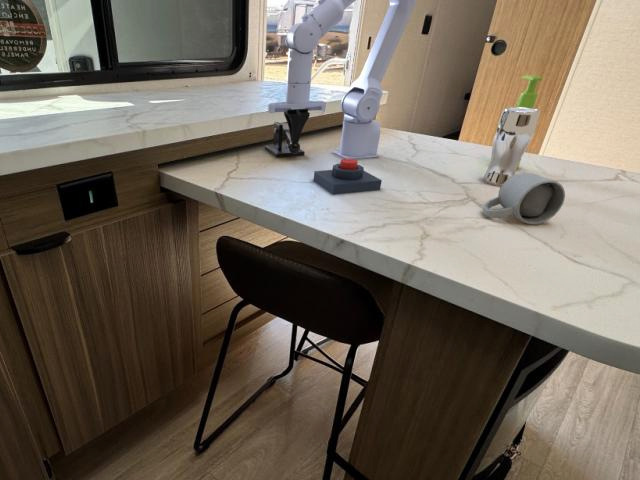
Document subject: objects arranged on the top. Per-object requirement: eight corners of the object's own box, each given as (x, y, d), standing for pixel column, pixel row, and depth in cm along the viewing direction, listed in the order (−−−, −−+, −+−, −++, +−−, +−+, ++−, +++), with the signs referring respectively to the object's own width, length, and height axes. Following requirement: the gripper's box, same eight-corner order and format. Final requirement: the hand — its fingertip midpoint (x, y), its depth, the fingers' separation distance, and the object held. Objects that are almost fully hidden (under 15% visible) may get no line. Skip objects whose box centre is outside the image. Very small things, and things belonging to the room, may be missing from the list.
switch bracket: (304, 156, 112) (306, 125, 108) (276, 158, 111) (277, 127, 106) (290, 147, 120) (292, 119, 116) (264, 149, 119) (265, 120, 114)
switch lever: (300, 155, 109) (302, 145, 106) (289, 156, 108) (292, 146, 106) (287, 131, 115) (289, 121, 112) (277, 132, 114) (279, 122, 112)
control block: (357, 177, 96) (359, 159, 94) (380, 190, 88) (383, 171, 86) (313, 180, 94) (315, 163, 92) (333, 195, 86) (335, 175, 84)
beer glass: (521, 186, 90) (549, 112, 82) (489, 186, 90) (514, 112, 82) (505, 177, 96) (529, 106, 88) (474, 177, 96) (496, 106, 88)
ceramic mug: (527, 207, 79) (543, 167, 75) (555, 224, 72) (574, 181, 68) (472, 209, 79) (484, 168, 75) (494, 225, 72) (509, 182, 68)
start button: (351, 166, 91) (352, 157, 90) (359, 170, 88) (360, 162, 87) (336, 167, 90) (337, 159, 89) (344, 171, 87) (345, 163, 86)
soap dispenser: (509, 163, 106) (540, 74, 95) (521, 170, 100) (556, 77, 89) (485, 162, 107) (513, 74, 96) (496, 170, 101) (527, 77, 90)
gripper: (319, 80, 105) (314, 136, 112) (264, 81, 101) (263, 139, 109) (331, 83, 99) (325, 142, 106) (274, 84, 96) (272, 146, 103)
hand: (294, 141), depth 107 cm, fingers closed, pressing on switch lever
